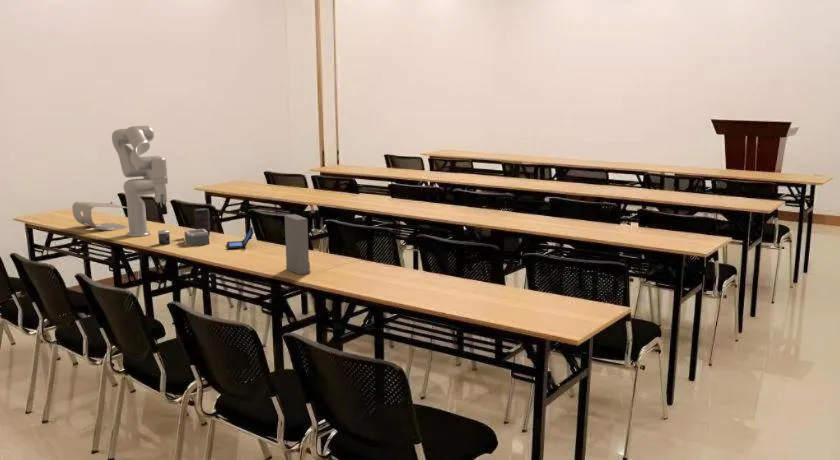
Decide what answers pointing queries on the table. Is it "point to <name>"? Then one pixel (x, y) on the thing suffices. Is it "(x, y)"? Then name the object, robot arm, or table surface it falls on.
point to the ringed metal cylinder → (164, 237)
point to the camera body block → (196, 237)
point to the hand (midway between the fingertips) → (162, 213)
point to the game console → (240, 242)
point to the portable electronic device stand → (87, 217)
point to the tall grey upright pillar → (297, 244)
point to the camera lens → (202, 219)
